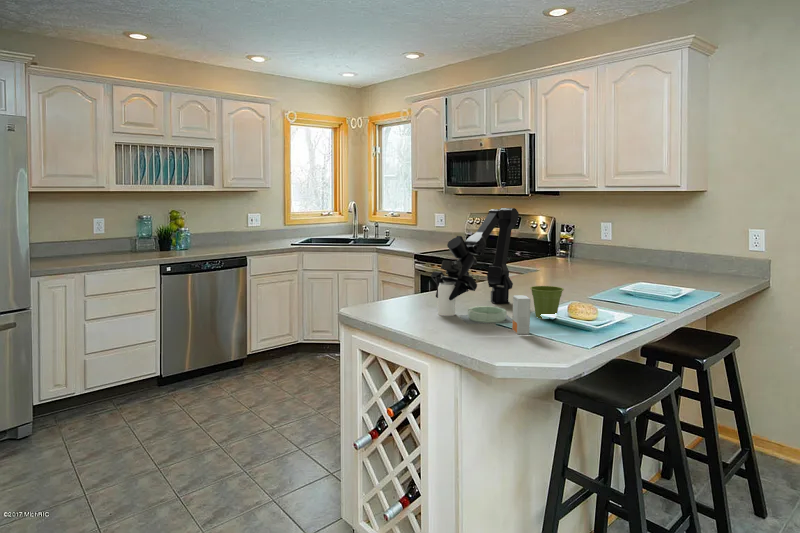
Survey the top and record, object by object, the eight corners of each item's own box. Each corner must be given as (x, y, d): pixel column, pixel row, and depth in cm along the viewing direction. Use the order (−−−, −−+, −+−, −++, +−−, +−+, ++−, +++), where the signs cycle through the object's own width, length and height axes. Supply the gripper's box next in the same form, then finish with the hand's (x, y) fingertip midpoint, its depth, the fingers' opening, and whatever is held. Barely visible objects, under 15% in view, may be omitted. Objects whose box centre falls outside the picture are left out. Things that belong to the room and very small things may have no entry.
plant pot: (562, 316, 206) (564, 286, 204) (562, 323, 195) (563, 291, 193) (530, 313, 209) (531, 284, 208) (527, 320, 198) (528, 289, 197)
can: (454, 317, 203) (454, 285, 201) (436, 316, 204) (436, 284, 203) (456, 313, 209) (456, 282, 208) (438, 312, 210) (439, 281, 209)
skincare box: (511, 330, 184) (512, 295, 183) (524, 330, 185) (525, 295, 183) (516, 335, 178) (518, 298, 177) (529, 335, 179) (531, 298, 177)
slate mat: (505, 314, 207) (505, 313, 207) (517, 323, 194) (517, 322, 194) (458, 316, 205) (458, 314, 205) (467, 325, 191) (467, 323, 191)
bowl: (499, 314, 207) (499, 305, 206) (510, 322, 194) (510, 313, 193) (464, 315, 205) (464, 306, 205) (473, 323, 192) (473, 314, 192)
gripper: (434, 250, 212) (414, 282, 206) (473, 254, 199) (452, 288, 193) (447, 268, 219) (428, 300, 213) (485, 273, 206) (466, 307, 199)
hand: (443, 298), depth 204 cm, fingers closed on can, 6 cm apart
